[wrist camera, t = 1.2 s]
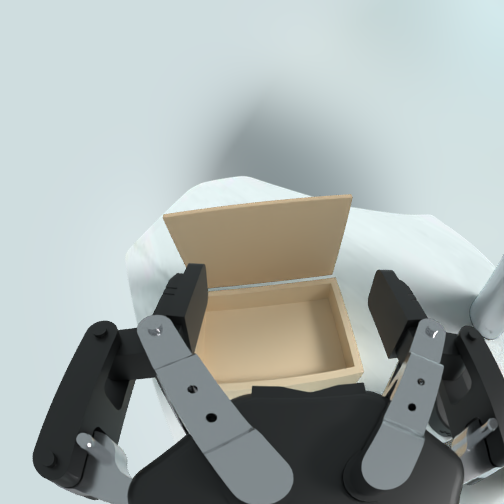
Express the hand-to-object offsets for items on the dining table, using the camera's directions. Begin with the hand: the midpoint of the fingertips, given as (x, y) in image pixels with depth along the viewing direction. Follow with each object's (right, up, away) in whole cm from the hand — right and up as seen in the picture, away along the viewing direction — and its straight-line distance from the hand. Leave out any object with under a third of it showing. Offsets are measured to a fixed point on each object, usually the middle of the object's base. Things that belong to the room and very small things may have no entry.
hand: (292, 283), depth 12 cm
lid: (-1, +2, +23) cm, 23 cm away
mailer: (+1, -12, +26) cm, 29 cm away
